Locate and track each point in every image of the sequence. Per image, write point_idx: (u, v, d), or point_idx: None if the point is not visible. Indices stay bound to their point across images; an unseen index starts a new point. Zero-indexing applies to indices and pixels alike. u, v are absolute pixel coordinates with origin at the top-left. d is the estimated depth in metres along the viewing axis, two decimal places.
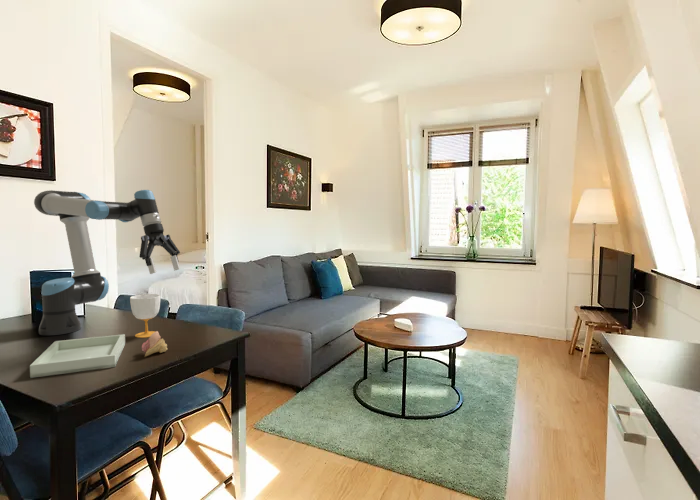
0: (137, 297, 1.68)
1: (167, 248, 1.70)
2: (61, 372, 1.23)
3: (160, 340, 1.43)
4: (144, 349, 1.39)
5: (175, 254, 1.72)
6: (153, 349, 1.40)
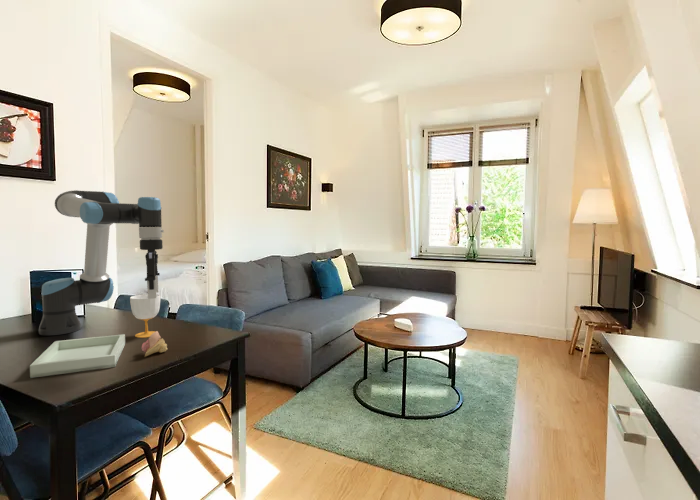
0: (137, 297, 1.68)
1: None
2: (61, 372, 1.23)
3: (160, 340, 1.42)
4: (144, 349, 1.39)
5: (156, 274, 1.49)
6: (153, 349, 1.40)
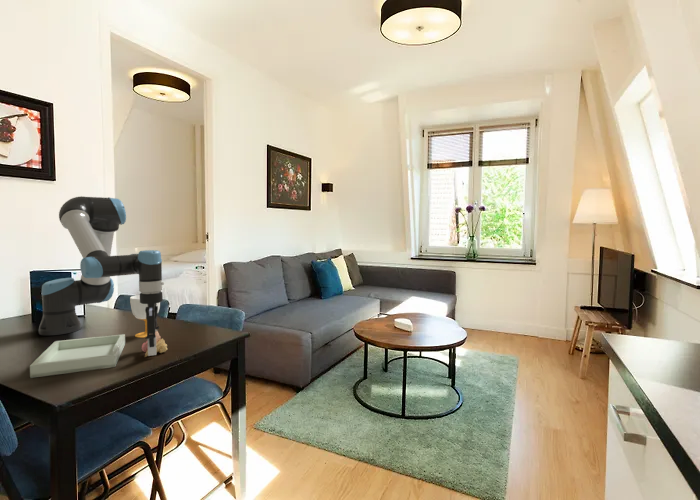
0: (137, 297, 1.68)
1: None
2: (61, 372, 1.23)
3: (160, 340, 1.42)
4: (144, 349, 1.39)
5: (156, 328, 1.47)
6: None
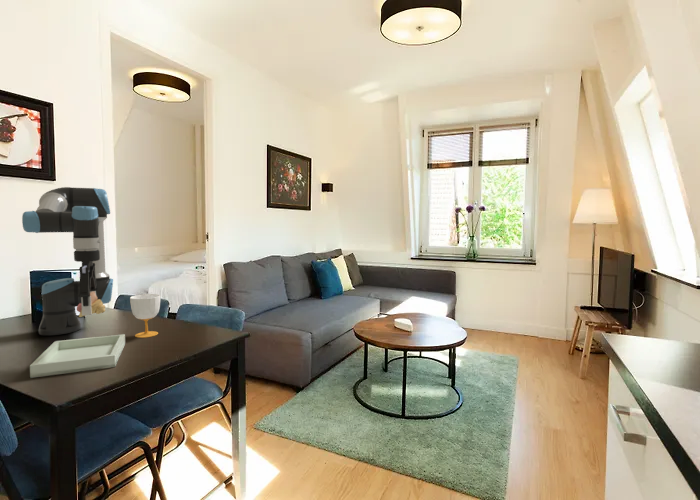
0: (137, 297, 1.68)
1: (90, 280, 1.39)
2: (61, 372, 1.23)
3: (97, 300, 1.36)
4: (78, 309, 1.33)
5: (94, 289, 1.41)
6: None
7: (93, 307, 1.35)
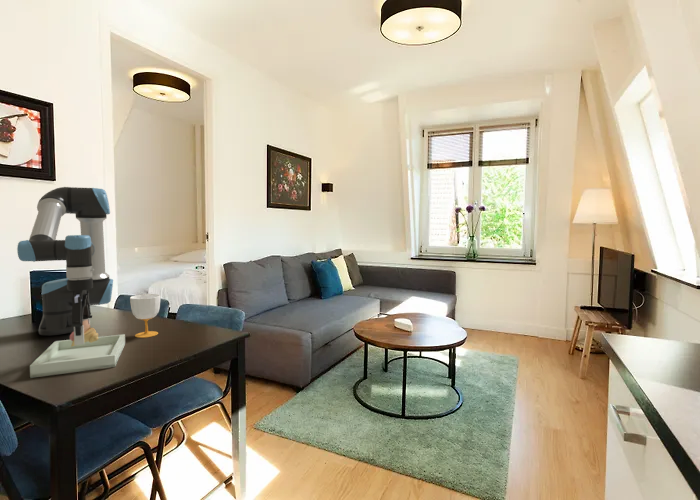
0: (137, 297, 1.68)
1: (84, 308, 1.39)
2: (61, 372, 1.23)
3: (90, 329, 1.36)
4: (71, 338, 1.33)
5: (88, 317, 1.41)
6: None
7: (86, 336, 1.35)
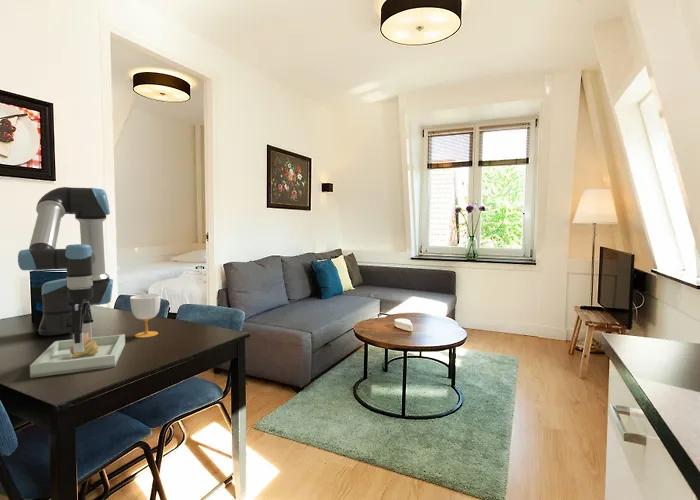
0: (137, 297, 1.68)
1: (85, 315, 1.40)
2: (61, 372, 1.23)
3: (90, 342, 1.37)
4: (72, 351, 1.34)
5: (89, 322, 1.43)
6: None
7: (86, 349, 1.35)
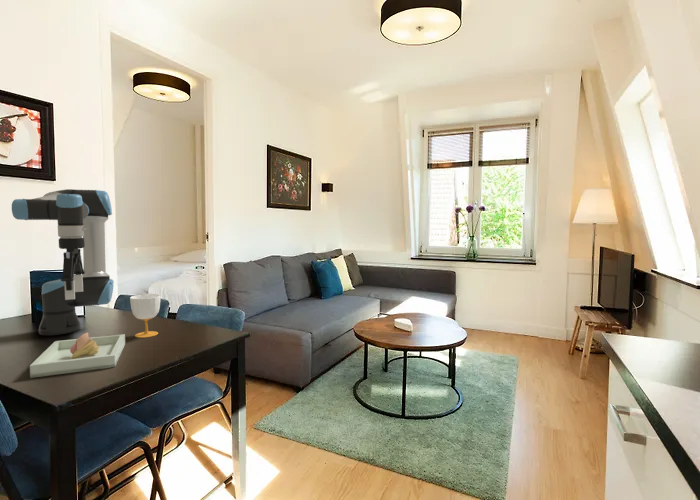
0: (137, 297, 1.68)
1: (76, 266, 1.41)
2: (61, 372, 1.23)
3: (90, 342, 1.37)
4: (72, 351, 1.34)
5: (81, 273, 1.45)
6: (81, 351, 1.34)
7: (86, 349, 1.35)
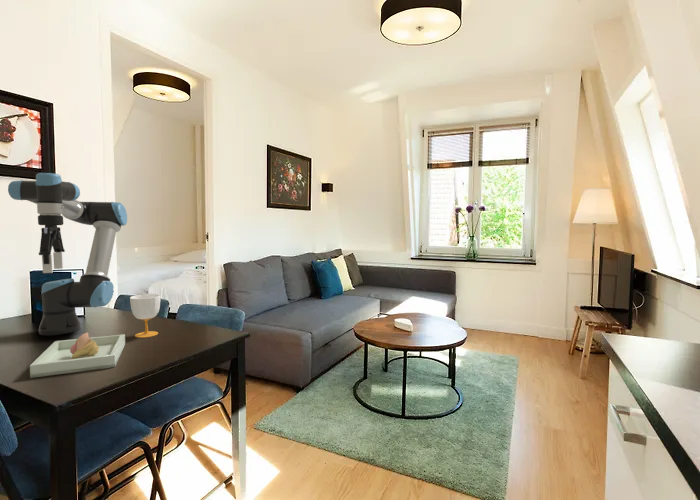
0: (137, 297, 1.68)
1: (56, 243, 1.48)
2: (61, 372, 1.23)
3: (90, 342, 1.37)
4: (72, 351, 1.34)
5: (61, 251, 1.51)
6: (81, 351, 1.34)
7: (86, 349, 1.35)
